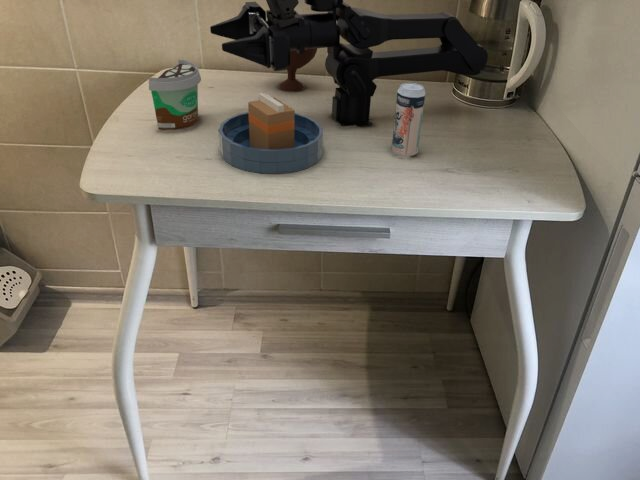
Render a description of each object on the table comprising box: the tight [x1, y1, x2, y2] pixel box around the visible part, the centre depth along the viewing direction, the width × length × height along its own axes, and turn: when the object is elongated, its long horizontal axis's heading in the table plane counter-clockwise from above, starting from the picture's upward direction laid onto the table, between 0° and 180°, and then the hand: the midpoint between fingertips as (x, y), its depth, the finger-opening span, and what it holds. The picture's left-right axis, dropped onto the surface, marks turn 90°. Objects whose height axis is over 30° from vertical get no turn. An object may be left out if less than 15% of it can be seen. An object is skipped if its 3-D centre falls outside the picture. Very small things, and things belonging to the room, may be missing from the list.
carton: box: [247, 92, 295, 150], centre depth 100 cm, size 5×6×9 cm
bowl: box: [218, 111, 324, 175], centre depth 101 cm, size 17×17×4 cm
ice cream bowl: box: [278, 48, 318, 92], centre depth 126 cm, size 11×11×15 cm
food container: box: [148, 58, 202, 131], centre depth 108 cm, size 12×6×10 cm, turn 168°
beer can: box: [391, 82, 427, 158], centre depth 103 cm, size 5×5×12 cm
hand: (216, 38), depth 99 cm, fingers open, 9 cm apart
